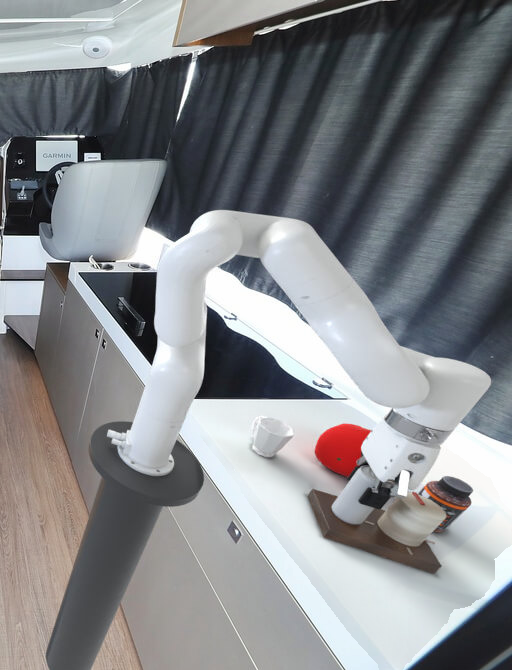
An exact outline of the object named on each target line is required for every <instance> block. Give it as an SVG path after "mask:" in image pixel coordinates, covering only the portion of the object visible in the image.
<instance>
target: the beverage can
mask: <svg viewBox="0 0 512 670" xmlns="http://www.w3.org/2000/svg"><path fill="white" fill-rule="evenodd" d="M376 477H377V476H376V475H375V474H374V472H373V470H372V469H371V467H370V466H366V465H365V466H361V468H359V469H358V470H357V471H356V473H355V474H354V476H353V477H352V478H351V480H350V481H347V484H345V487H344V488H343V489H342V491H341V492H340V493H339V495H337V496H338V498H337V499H336V500H335V502H334V503H333V505H332V511H333V513H334V514H335V515H336V516H337V517H338V518H339V519H341V520H342V521H344V522H346V523H349V524H354V525H356V524H361V523H363V522H364V520H365V519H366V518H367V517H368V515H369V514H370V513H371V512H372V511H373V509H374V508H372V507H369V506H366V505H362V504H360V503H359V501H358V500H359V498H360V497H361V496H362V495H363V493H364V492H365V491H366V489H367V488H368V487H370V488H372V486H373V484H374V481H375V479H376ZM392 480H394V478H393V479H392ZM390 486H391V484H388V483H385V482H383V484H382V486H381V487H387V488H390Z"/></svg>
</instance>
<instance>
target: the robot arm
mask: <svg viewBox="0 0 512 670" xmlns="http://www.w3.org/2000/svg"><path fill="white" fill-rule="evenodd" d="M236 255H237V256H244V257H250V258H256V259H257V258H258V259H260V262H261V264H262V265H263V267H264V269H265V270H266V271H267V273H268V274H269V275H270V276H271V277H272V279H273V280H274V281H275V282H276V284H277V285H278V286H279V287H280V288H281V289H282V291H283V292H284V293H285V295H286V296H287V297H288V298H289V299H290V301H291V302H292V305H294V307H295V308H296V309H297V310H298V312H299V313H300V314H301V315H302V317H303V318H304V319H305V321H306V322H307V323H308V325H309V326H310V328H311V330H313V332H314V333H315V334H316V335H317V337H318V338H319V339H320V340H321V341H322V343H323V344H324V345H325V346H326V347H327V349H328V350H329V352H330V353H331V354H332V356H333V357H334V358H335V359H336V361H337V363H338V364H339V365H340V366H341V368H342V369H343V371H344V372H345V373H346V374H347V376H348V377H349V378H350V379H351V380H352V382H353V383H354V384H355V385H356V387H357V388H358V389H359V391H360V392H361V393H362V394H363V395H364V396H365V397H366V398H367V399H368V400H370V401H371V402H373V403H375V404H376V405H379V406H382V407H386V408H388V410H387V411H386V412H385V414H384V415H383V417H382V418H381V420H380V421H379V422H378V423H377V424H376V425H375V426H374V427H373V428H372V429H371V430H372V431H371V432H370V433H369V435H368V436H367V438H366V439H365V440H364V441H363V444H362V446H361V451H362V452H361V458H360V459H358V460H357V465H358V466H356V467H355V468H354V469H353V471H352V472H351V474H350V475H349V476H348V477H346V480H347V482H349V481H350V480H351V478H352V477H353V476H354V474H355V473H356V471H357V470H358V469H359V468H361V466H365V465H366V466H370V467H371V469H372V470H373V472H374V474H375V475H376V476H377V477H376V479H375V481H374V484H373V486H372V488H370V487H368V488H367V489H366V491H365V492H364V493H363V495H362V496H361V497H360V498H359V500H358V501H359V503H360V504H362V505H366V506H369V507H372V508H376V509H382V510H383V507H385V505H386V504H387V503H388V501H390V499H391V498H392V499H393V498H397V497H398V498H403V499H406V498H407V492H409V491H414V490H416V489H418V487H419V486H420V485H421V484H422V482H424V480H425V478H426V477H427V476H428V474H429V473H430V472H431V469H432V468H433V467H434V465H435V463H436V461H437V459H438V457H439V455H440V452H441V449H442V447H441V446H442V445H443V444H444V443H445V441H446V440H447V439H448V438H449V437H450V436H451V435H452V433H453V432H454V431H455V430H456V428H457V427H458V426H459V425H460V423H462V421H463V420H464V418H465V417H466V416H467V415H469V413H470V412H471V410H472V409H473V408H474V407H475V405H476V404H477V403H478V402H479V400H480V399H481V398H482V397H483V395H485V393H486V392H487V391H488V389H489V388H490V387H491V385H492V379H491V376H490V375H489V374H488V373H487V372H486V371H485V370H483V369H480V368H479V367H477V366H474V365H472V364H470V363H467V362H464V361H460V360H457V359H452V358H447V357H436V356H433V355H429V354H425V353H423V352H420V351H417V350H413V349H411V348H408V347H406V346H401V345H400V343H398V341H397V340H396V339H395V337H394V336H393V335H392V334H391V331H389V329H388V328H387V326H386V325H385V323H384V322H383V321H382V318H381V316H380V315H379V314H378V312H377V310H376V307H375V306H374V305H373V302H372V301H371V300H370V299H369V297H368V296H367V295H366V293H365V292H364V290H363V289H362V288H361V286H359V284H358V283H357V282H356V281H355V280H354V278H353V277H352V275H350V273H349V272H348V271H347V269H346V268H345V267H344V266H343V265H342V263H341V262H340V261H339V259H338V258H337V257H336V256H335V254H334V253H333V252H332V251H331V249H330V248H329V247H328V246H327V244H326V243H325V242H324V241H323V239H322V238H321V237H320V236H319V234H318V233H317V231H316V230H315V229H314V227H312V226H311V224H309V223H308V222H306V221H303V220H300V219H296V218H289V217H283V216H275V215H268V214H267V215H266V214H260V213H259V214H258V213H251V212H243V211H236V210H230V209H229V210H228V209H217V210H210V211H207V212H205V213H203V214H202V215H199V217H198V218H196V219H195V220H194V222H193V224H192V225H191V226H190V229H189V232H188V233H187V234H185V235H184V236H182V237H180V238H179V239H177V240H176V241H175V242H174V243H172V244H171V245H170V246H169V247H168V248H167V249H166V250H165V251H164V253H163V254H162V256H161V258H160V259H159V263H158V265H157V270H156V287H155V311H154V318H153V319H154V320H153V326H154V330H155V333H156V335H157V346H156V351H155V355H154V357H153V361H152V364H151V368H150V371H149V374H148V378H147V380H146V383H145V386H144V388H143V392H142V394H141V398H140V401H139V404H138V407H137V410H136V413H135V416H134V418H133V421H132V422H133V424H132V427H131V430H127V433H123V432H122V434H121V433H118V432H115V431H112V430H108V434H107V437H110V438H113V439H112V443H111V444H115V445H118V449H117V450H118V454H119V455H120V457H121V459H122V460H123V461H124V462H125V463H126V464H127V465H129V466H130V467H131V468H133V469H135V470H136V471H138V472H141V473H143V474H146V475H151V476H164V475H167V474H169V473H170V472H171V471H172V469H173V467H174V460H173V457H172V455H171V451H172V449H173V447H174V444H175V442H176V440H178V437H179V435H180V432H181V429H182V428H183V425H184V423H185V421H186V418H187V415H188V412H189V410H190V408H191V406H192V404H193V403H194V400H195V398H196V396H197V394H198V393H199V391H200V389H201V387H202V384H203V380H204V376H205V375H204V374H205V357H206V336H207V318H208V316H207V315H208V307H207V306H208V305H207V303H206V301H205V296H206V295H205V294H206V283H207V277H208V275H209V274H210V272H212V270H214V269H215V268H218V267H219V266H221V265H223V264H225V263H227V262H229V261H230V260H231V259H233V258H234V257H235V256H236ZM119 440H120V441H119ZM392 479H393V480H392ZM383 482H385V483H388V484H391V486H390V488H387V487H381V486H382V484H383Z"/></svg>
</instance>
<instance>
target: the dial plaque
mask: <svg viewBox="0 0 512 670" xmlns="http://www.w3.org/2000/svg"><path fill="white" fill-rule="evenodd" d="M338 496H339V495H335V494H332V493H328V492H325V491H321V490H319V489H315V488H312V489H311V490H310V492H309V493H308V495H307V498H308V499H307V500H308V502H309V504H310V507H311V510H312V511H313V514H314V517H315V519H316V522H317V524H318V527H319V530H320V532H321V535H322V537H323V538H324V539H327V540H330V541H333V542H336V543H339V544H342V545H345V546H347V547H348V546H349V547H351V548H354V549H357V550H360V551H362V552H366V553H369V554H372V555H375V556H377V557H378V556H379V557H381V558H384V559H387V560H390V561H393V562H397V563H399V564H402V565H405V566H408V567H411V568H414V569H416V570H420V571H423V572H426V573H429V574H433V575H434V574H436V573H437V571H439V570H440V569H441V568H442V566H443V565H442V564H441V562H440V561H439V559H438V558H437V556H436V554H435V553H434V551H433V550H432V548H431V546H430V545H429V544H432V545H436V543H435V541H432V540H428V539H425V540H424V541H423V543H422V544H421V545H420V546H415V547H414V546H408V545H405V544H402V543H400V542H398V541H396V540H394V539H392V538H391V537H389V536H388V535H387V534H385V533H384V532H383V531H382V530H381V529H380V527H379V526H378V520H379V519H380V517H381V516H382V515H383V514H384V513H385V511H386V510H387V509H386V510H385V509H383V508H382V509H376V508H374V509H373V511H372V512H371V513H370V514H369V515H368V517H367V518H366V519H365V520H364V522H363V523H361V524H356V525H354V524H349V523H346V522H344V521H342V520H341V519H339V518H338V517H337V516H336V515H335V514H334V513H333V511H332V505H333V503H334V502H335V500H336V499H337V498H338Z"/></svg>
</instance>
